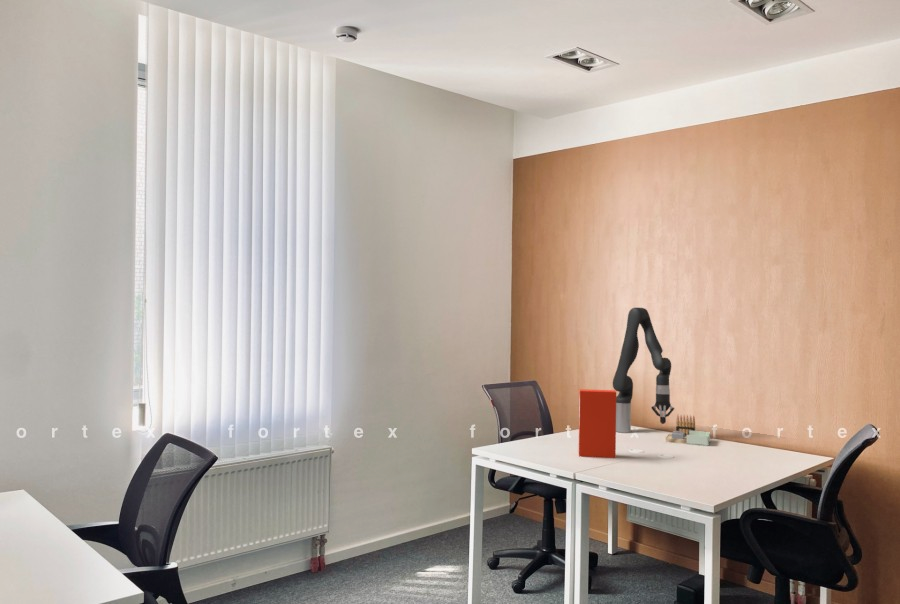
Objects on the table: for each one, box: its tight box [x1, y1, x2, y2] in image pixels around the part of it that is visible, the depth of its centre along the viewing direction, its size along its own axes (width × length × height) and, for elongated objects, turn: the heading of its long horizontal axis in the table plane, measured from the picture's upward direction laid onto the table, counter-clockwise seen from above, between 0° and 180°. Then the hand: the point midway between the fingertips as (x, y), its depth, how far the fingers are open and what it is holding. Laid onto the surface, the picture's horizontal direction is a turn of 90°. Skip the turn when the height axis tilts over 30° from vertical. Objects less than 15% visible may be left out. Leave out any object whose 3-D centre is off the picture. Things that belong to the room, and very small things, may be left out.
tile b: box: [671, 432, 684, 439], centre depth 366 cm, size 6×5×2 cm
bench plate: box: [665, 433, 688, 445], centre depth 369 cm, size 11×14×2 cm
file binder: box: [578, 388, 617, 459], centre depth 326 cm, size 8×17×32 cm, turn 81°
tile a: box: [672, 430, 685, 437], centre depth 372 cm, size 6×5×2 cm
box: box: [686, 430, 711, 447], centre depth 364 cm, size 11×16×5 cm
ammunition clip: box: [675, 414, 696, 436], centre depth 386 cm, size 11×2×12 cm, turn 67°
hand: (663, 423), depth 376 cm, fingers closed
